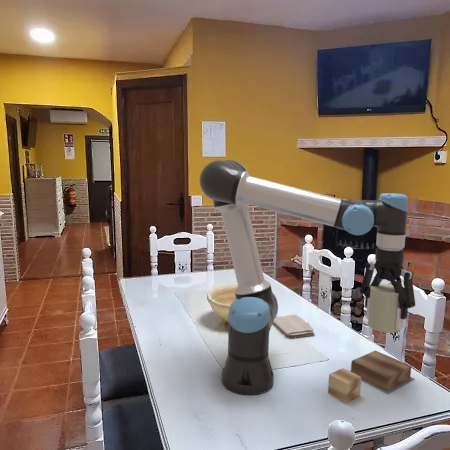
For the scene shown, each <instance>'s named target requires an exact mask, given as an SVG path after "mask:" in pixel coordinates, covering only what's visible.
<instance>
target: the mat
mask: <svg viewBox="0 0 450 450" xmlns="http://www.w3.org/2000/svg"><path fill="white" fill-rule="evenodd" d="M349 371H350V372H351V370H349ZM414 380H415V377H412V376H410V379H408V380H406V381H405V382H403V383H401V384H399V385H397V386H396V387H394V388H392V389H390V390H388V391H385V390H383V389H381V388H379V387H377V386H375V385H373V384H371V383H369V382H367V381H365V380H363V379H361V382H363V383H364V384H367V385H369V386H371V387H373V388H375V389H376V390H379V391H381V392H383V393H385V394H386V395H390V394H392V392H395V391H397V390H399V389H400V388H402V387H403V386H405V385H408V384H409V383H411V382H412V381H414Z"/></svg>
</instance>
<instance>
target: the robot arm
mask: <svg viewBox="0 0 450 450" xmlns="http://www.w3.org/2000/svg"><path fill="white" fill-rule="evenodd" d="M199 175H200V176H199V185H200V189H201V191H202V192H203V194H204V195H205V196H206V197H208V198H209V199H211V200H212V202H213V205H214V209H216V210H217V211H219V212H220V215H221V218H222V223H223V228H224V232H225V236H226V240H227V244H228V249H229V253H230V257H231V261H232V266H233V269H234V275H235V279H236V282H237V287H236V288H235V290H234V295H235V300H234V301H232V303H231V304H230V305H229V307H228V314H227V320H228V328H227V329H228V331H227V332H228V333H227V336H228V337H227V338H228V339H227V340H228V341H227V343H228V344H227V345H228V346H227V357H226V360H225V362H224V366H223V369H222V370H221V383H222V385H223V386H224V387H225V388H226V389H227V390H229V391H230V392H232V393H236V394H240V395H249V396H250V395H252V396H253V395H260V394H262V393H263V394H264V393H266V392H268V391H270V389H272V387H273V386H274V382H275V381H274V378H275V375H274V371H273V368H272V364H271V361H270V358H269V348H270V347H269V344H270V341H269V340H270V331H271V329H272V327H273V325H272V324H273V322H274V319H275V318H276V317H278V316H277V315H278V312H279V311H278V310H279V304H278V299H277V297H276V294H274V292H273V290H272V286H271V285H272V284H271V283H270V282H269V281H267V280H266V279H265V276H264V271H263V268H262V263H261V258H260V254H259V251H258V245H257V241H256V237H255V232H254V226H253V225H252V219H251V215H250V210H249V205H250V206H255V207H258V208H261V209H266V210H268V211H269V210H270V211H274V212H277V213H281V214H284V215H288V216H290V217H291V216H292V217H296V218H298V219H299V218H300V219H304V220H306V221H307V220H308V221H311V222H314V223H318V224H321V225H322V224H323V225H326V226H330V227H333V228H337V229H339V230H344V231H346V232H347V233H348V234H351V235H354V236H362V235H365V234H367V233H368V232H370V231H371V230H372V228H374V227H376V228H377V230H376V242H375V245H376V248H375V255H374V256H375V258H374V259H375V262H373V261H370V262H366V263H365V268H364V269H365V270H364V271H365V272H364V275H363V278H362V282H361V286H360V289H359V293H360V294H361V295H364V298H365V302H364V305H365V306H364V307H365V308H366V316H365V317H366V318H365V319H366V320H368V318H369V305H370V287H371V286H378V285H379V284H382V281H383V280H386V281H388V282H390V285H393V287H394V290H395V293H399V295H398V301H399V304H400V307H398V308H397V319H396V330H400V329H401V330H402V329H404V328H405V326H404V325H405V320H406V319H407V318H408V311H409V309H411V308H412V309H413V308H414V307H416V299H415V291H414V284H413V277H414V272H413V271H412V270H410V271H408V270H405V269H404V266H403V264H404V261H405V260H404V259H405V250H404V248H405V245H406V233H407V222H408V212H409V209H408V205H409V203H408V202H409V198H408V196H407V195H406V194H402V193H392V192H391V193H387V192H385V193H381V194H380V195H379V198H378V199H373V200H370V199H369V200H368V199H352V198H351V199H350V198H343V199H342V198H338V197H334V196H330V195H327V194H323V193H318V192H314V191H310V190H307V189H303V188H298V187H296V186H295V187H294V186H291V185H287V184H283V183H279V182H275V181H271V180H267V179H264V178H260V177H255V176H252V175H250V174H249V172H248V170H247V168H246V167H245V166H244V165H243V164H241V163H239V162H238V161H236V160H231V159H227V160H221V159H220V160H219V159H218V160H213V161H211V162H209V163H207V164H206V165H205V166H204V167H203V168H202V170H201V172H200V174H199ZM375 271H376V273H375V275H374V272H375ZM373 275H374V277H373ZM401 275H402V278H401ZM372 278H373V280H372ZM402 279H403V282H402ZM402 283H403V285H402ZM401 330H400V331H401Z"/></svg>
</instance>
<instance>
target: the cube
mask: <svg viewBox="0 0 450 450" xmlns="http://www.w3.org/2000/svg"><path fill="white" fill-rule="evenodd" d="M350 371H351V370H348V369H346V368H345V367H342V368H340V369H337V370H335V371H333V372H330V373H329V374H328V387H327V393H328V394H329V395H331V396H333V397H334V398H336V399H338V400H340V401H341V402H343V403H345V404H347V403H349V402H351V401H352V400H354V399H357V398H359V397H360V396H361V388H362V387H361V386H362V385H361V384H362V381H361V377H360V376H358V375H356V374H354V373H352V372H350Z"/></svg>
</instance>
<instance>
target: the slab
mask: <svg viewBox="0 0 450 450" xmlns="http://www.w3.org/2000/svg"><path fill="white" fill-rule="evenodd" d="M350 371H351V372H352V373H354V374H356V375H358V376H360V377H361V379H363V380H365V381H367V382H369V383H371V384H373V385H375V386H377V387H379V388H381V389H383V390H385V391H388V390H390V389H392V388H394V387H396V386H397V385H399V384H401V383H403V382H405V381H406V380H408V379H410V377H411V372H412V365H410V364H408V363H406V362H403V361H401V360H399V359H396V358H394V357H392V356H389V355H387V354H385V353H382V352H380V351H377V350H373V351H370V352H369V353H366V354H365V355H362V356H360V357H356V358H355V359H352V360H351V366H350Z"/></svg>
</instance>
